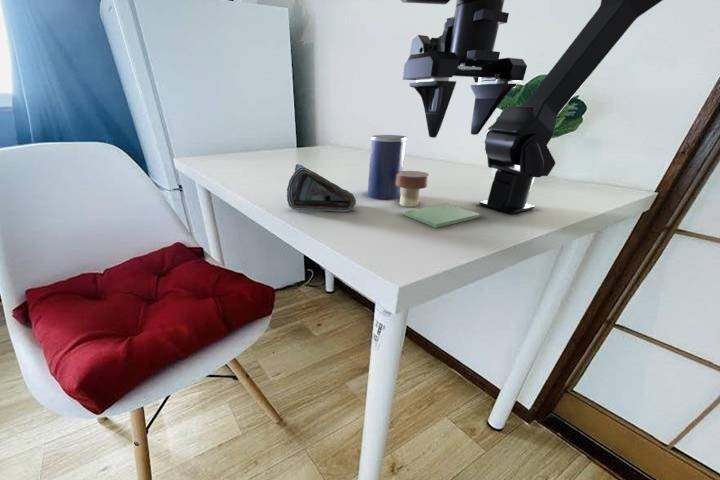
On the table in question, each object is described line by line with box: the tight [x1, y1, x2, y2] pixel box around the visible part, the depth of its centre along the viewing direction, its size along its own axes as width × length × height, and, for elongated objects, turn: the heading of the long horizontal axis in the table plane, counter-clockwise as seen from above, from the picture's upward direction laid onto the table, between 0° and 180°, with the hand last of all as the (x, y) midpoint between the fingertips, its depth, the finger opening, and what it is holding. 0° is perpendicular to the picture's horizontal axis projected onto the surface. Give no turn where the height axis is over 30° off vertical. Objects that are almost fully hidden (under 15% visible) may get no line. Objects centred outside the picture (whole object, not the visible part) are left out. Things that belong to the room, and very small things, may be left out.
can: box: [367, 134, 408, 200], centre depth 59 cm, size 6×6×11 cm
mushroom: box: [395, 170, 430, 208], centre depth 55 cm, size 6×6×6 cm
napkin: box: [403, 202, 481, 229], centre depth 50 cm, size 10×7×1 cm
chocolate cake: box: [286, 163, 357, 213], centre depth 56 cm, size 10×7×12 cm
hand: (454, 135), depth 47 cm, fingers open, 9 cm apart
